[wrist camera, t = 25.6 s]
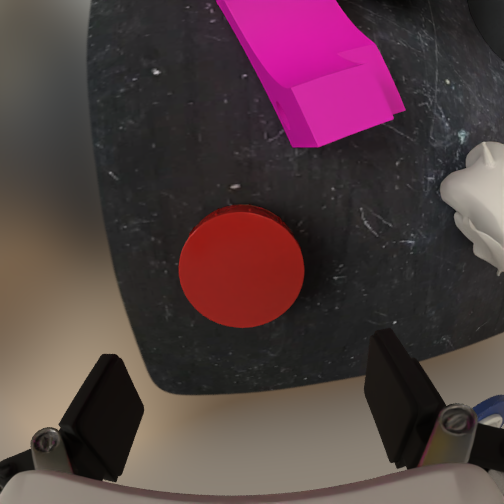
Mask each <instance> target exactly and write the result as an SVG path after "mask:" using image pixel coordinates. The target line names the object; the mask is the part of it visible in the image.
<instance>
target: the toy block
mask: <svg viewBox="0 0 504 504" xmlns="http://www.w3.org/2000/svg"><path fill="white" fill-rule="evenodd" d="M216 2H217V4H218V5H219V7H220V9H221V10H222V12H223V14H224V15H225V17H226V19H227V20H228V22H229V24H230V26H231V27H232V29H233V31H234V33H235V34H236V36H237V38H238V40H239V42H240V43H241V45H242V47H243V49H244V51H245V53H246V54H247V56H248V58H249V60H250V62H251V64H252V66H253V68H254V69H255V71H256V73H257V75H258V77H259V79H260V81H261V83H262V85H263V87H264V89H265V91H266V93H267V95H268V97H269V99H270V101H271V103H272V105H273V107H274V109H275V111H276V113H277V115H278V117H279V120H280V122H281V124H282V126H283V128H284V130H285V132H286V135H287V137H288V139H289V141H290V143H291V145H292V148H296V147H321V146H323V145H326V144H328V143H331V142H333V141H336V140H338V139H341V138H344V137H346V136H349V135H352V134H354V133H357V132H359V131H362V130H365V129H368V128H370V127H373V126H376V125H379V124H381V123H384V122H387V121H390V120H393V119H394V118H393V114H396V113H399V112H402V111H405V107H404V105H403V102H402V100H401V97H400V95H399V93H398V90H397V88H396V86H395V83H394V81H393V79H392V77H391V75H390V72H389V70H388V68H387V66H386V64H385V62H384V60H383V58H382V56H381V54H380V52H379V50H378V48H377V46H376V44H375V43H374V42H372V41H371V40H370V39H368V38H367V37H366V36H365V35H364V34H363V33H362V32H361V31H360V30H358V28H357V27H356V26H355V25H354V24H353V23H352V22H351V21H350V19H349V18H348V17H347V16H346V14H345V13H344V12H343V10H342V9H341V7H340V6H339V5H338V3H337V1H336V0H216Z"/></svg>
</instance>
